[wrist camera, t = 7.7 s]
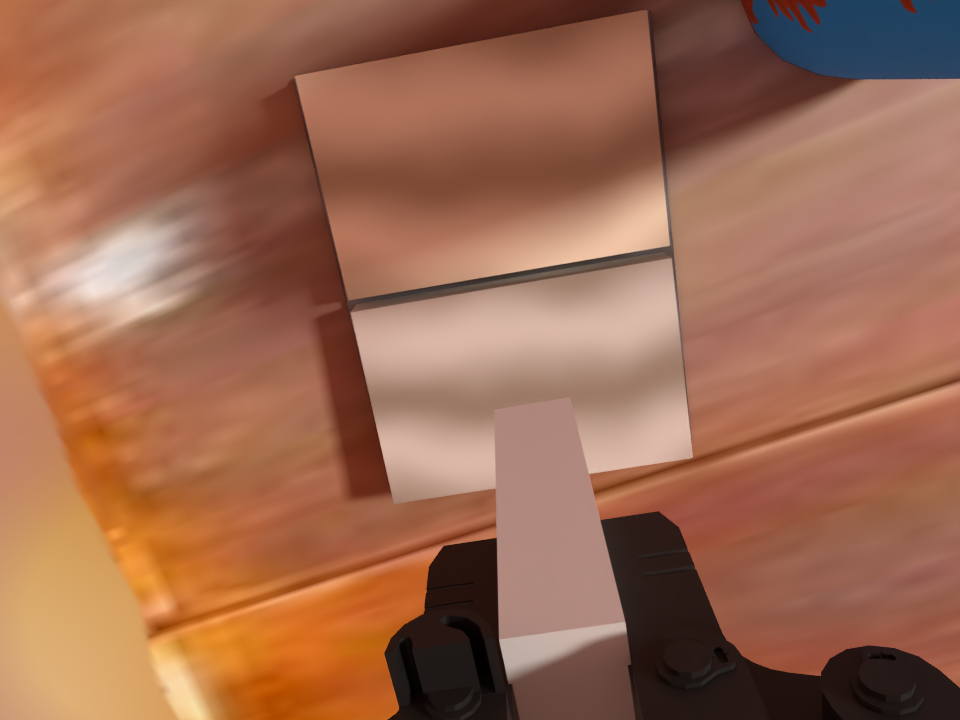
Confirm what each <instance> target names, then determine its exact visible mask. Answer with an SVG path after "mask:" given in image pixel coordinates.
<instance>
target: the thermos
mask: <svg viewBox="0 0 960 720" xmlns="http://www.w3.org/2000/svg"><path fill="white" fill-rule="evenodd" d="M741 2H742V5H743V7H744V9H745V11H746V14H747V16H748V18H749V21H750V23H751V25H752V28H753V30H754V32H755V33H756V34H757V35H758V36H759V37H760V38H761V39H762V40H763V41H764V42H765V43H766V44H767V45H768V46H769V47H770V48H771V49H772V50H773V51H774V52H775V53H776V54H777V55H778V56H779V57H780V58H781V59H782V60H784V61H786V62H789V63H791V64H794V65H796V66H799V67H801V68H804V69H806V70H809V71H811V72H814V73H816V74H818V75H825V76H833V77H841V78H849V79H960V0H741Z"/></svg>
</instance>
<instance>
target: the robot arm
mask: <svg viewBox="0 0 960 720" xmlns="http://www.w3.org/2000/svg"><path fill="white" fill-rule="evenodd" d="M494 423H495V471H496V518H497V538H493V539H487V540H480V541H473V542H467V543H460V544H453V545H447V546H443V548H442V549H441V550H440V552H439V553H438V555H437V556H436V558H435V559H434V560H433V562H432V563H431V565H430V566H429V572H428V581H427V593H426V598H425V611H424V614H423V615H421V616H419V617H417V618H415V619H414V620H412V621H410V622H408V623H407V624H405V625H404V626H403V627H402V628H401V629H400V630H399V631H398V632H397V633H396V634H395V635H394V636H393V637H392V638H391V639H390V642H389V644H388V646H387V649H386V651H385V653H384V654H385V657H386V661H387V665H388V668H389V672H390V675H391V679H392V683H393V686H394V690H395V693H396V697H397V701H398V704H399V711H398V712H397V713H396V714H395V715H393V716H392V717H391V718H389V719H388V720H960V688H959V687H958V686H957V685H956V684H955V683H953V682H952V681H951V680H950V679H949V678H948V677H947V676H946V675H944V674H943V673H942V672H941V671H940V670H938V669H937V668H935V667H934V666H932V665H931V664H929V663H928V662H926V661H925V660H923V659H922V658H920V657H918V656H916V655H913V654H910V653H907V652H904V651H901V650H898V649H895V648H889V647H878V646H863V647H857V648H851V649H846V650H844V651H843V652H841V653H839V654H837V655H836V656H834V657H832V658H830V659H829V661H828V663H827V664H826V666H825V667H824V669H823V670H822V672H821V676H814V675H805V674H796V673H788V672H783V671H778V670H772V669H769V668H766V667H763V666H761V665H758V664H755V663H753V662H751V661H750V660H748V659H746V658H745V657H743V656H742V655H741V654H740V652H739V651H738V650H737V648H736V647H735V646H734V645H733V644H731V643H730V642H728V641H727V640H726V639H725V637H724V635H723V634H722V631H721V629H720V627H719V624H718V622H717V619H716V617H715V614H714V612H713V609H712V607H711V605H710V602H709V600H708V597H707V595H706V592H705V590H704V588H703V585H702V583H701V580H700V578H699V575H698V573H697V570H695V566H694V563H693V561H692V558H691V556H690V553H689V552H688V549H687V546H686V544H685V541H684V539H683V536H682V534H681V532H680V529H679V527H678V526H676V525H675V524H674V523H673V522H671V521H670V520H669V519H667V518H666V517H665V516H664V515H662V514H661V513H660V512H659V511H658V512H652V513H645V514H638V515H632V516H625V517H618V518H612V519H605V520H600V517H599V513H598V509H597V505H596V501H595V497H594V493H593V489H592V485H591V481H590V476H589V472H588V468H587V464H586V460H585V456H584V452H583V448H582V444H581V440H580V436H579V432H578V428H577V424H576V420H575V416H574V411H573V407H572V403H571V399H570V397H569V398H563V399H557V400H551V401H545V402H538V403H532V404H526V405H520V406H514V407H508V408H501V409H495V410H494Z"/></svg>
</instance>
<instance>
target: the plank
mask: <svg viewBox="0 0 960 720" xmlns="http://www.w3.org/2000/svg"><path fill="white" fill-rule="evenodd" d="M351 317H352V321H353V325H354V330H355V334H356V339H357V343H358V348H359V352H360V356H361V361H362V365H363V370H364V374H365V378H366V383H367V387H368V392H369V396H370V400H371V405H372V409H373V414H374V418H375V422H376V427H377V431H378V436H379V440H380V445H381V449H382V453H383V458H384V462H385V467H386V471H387V475H388V480H389V484H390V489H391V493H392V497H393V502H394V504H396V503H403V502H409V501H416V500H422V499H429V498H435V497H442V496H448V495H455V494H461V493H468V492H474V491H481V490H487V489H494V488H496V471H495V423H494V410H495V409H501V408H508V407H514V406H520V405H526V404H532V403H538V402H545V401H551V400H557V399H563V398H569V397H570V399H571V403H572V407H573V411H574V416H575V420H576V424H577V428H578V432H579V436H580V440H581V444H582V448H583V452H584V456H585V460H586V464H587V468H588V472H589V474H591V473H598V472H604V471H611V470H617V469H624V468H630V467H637V466H643V465H650V464H656V463H663V462H669V461H676V460H682V459H689V458H693V454H692V445H691V435H690V426H689V416H688V407H687V398H686V388H685V379H684V369H683V360H682V351H681V341H680V332H679V322H678V313H677V304H676V294H675V285H674V276H673V266H672V258H671V257H669V256H668V255H667V254H665V253H664V252H660V253H654V254H649V255H643V256H637V257H631V258H625V259H619V260H613V261H607V262H601V263H596V264H590V265H584V266H578V267H572V268H566V269H560V270H554V271H549V272H543V273H537V274H531V275H525V276H519V277H513V278H507V279H502V280H496V281H490V282H484V283H478V284H472V285H466V286H460V287H455V288H449V289H443V290H437V291H431V292H425V293H419V294H413V295H407V296H402V297H396V298H390V299H384V300H378V301H372V302H366V303H360V304H357V305H356V306H355V307H354V309H353V310H352V311H351Z"/></svg>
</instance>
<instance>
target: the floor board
mask: <svg viewBox="0 0 960 720" xmlns="http://www.w3.org/2000/svg"><path fill="white" fill-rule="evenodd" d="M293 80H294V85H295V89H296V93H297V97H298V101H299V106H300V110H301V114H302V118H303V122H304V127H305V131H306V135H307V139H308V143H309V148H310V152H311V156H312V160H313V164H314V168H315V173H316V177H317V181H318V185H319V189H320V194H321V198H322V202H323V206H324V210H325V215H326V219H327V223H328V227H329V231H330V235H331V240H332V244H333V248H334V252H335V256H336V261H337V265H338V269H339V273H340V277H341V282H342V286H343V290H344V294H345V298H346V302H347V307H348V311H349V315H350V319H351V323H352V328H353V332H354V336H355V340H356V344H357V349H358V353H359V357H360V361H361V356H360V352H359V348H358V343H357V339H356V334H355V330H354V325H353V321H352V317H351V311H352V310H353V309H354V307H355V306H356V305H357V304H360V303H366V302H372V301H378V300H384V299H390V298H396V297H402V296H407V295H413V294H419V293H425V292H431V291H437V290H443V289H449V288H455V287H460V286H466V285H472V284H478V283H484V282H490V281H496V280H502V279H507V278H513V277H519V276H525V275H531V274H537V273H543V272H549V271H554V270H560V269H566V268H572V267H578V266H584V265H590V264H596V263H601V262H607V261H613V260H619V259H625V258H631V257H637V256H643V255H649V254H654V253H660V252H664V253H665V254H667V255H668V256H669V257H671V258H672V266H673V276H674V285H675V294H676V304H677V313H678V322H679V332H680V341H681V351H682V360H683V369H684V379H685V388H686V378H685V367H684V357H683V346H682V336H681V325H680V315H679V304H678V294H677V283H676V273H675V262H674V252H673V241H672V231H671V220H670V210H669V199H668V189H667V178H666V168H665V157H664V147H663V136H662V126H661V115H660V105H659V94H658V84H657V73H656V63H655V52H654V42H653V31H652V21H651V11H647V9H646V10H641V11H636V12H630V13H625V14H620V15H614V16H609V17H604V18H599V19H593V20H588V21H583V22H577V23H572V24H567V25H562V26H556V27H551V28H546V29H540V30H535V31H530V32H525V33H519V34H514V35H509V36H503V37H498V38H493V39H488V40H482V41H477V42H472V43H466V44H461V45H456V46H450V47H445V48H440V49H435V50H429V51H424V52H419V53H413V54H408V55H403V56H398V57H392V58H387V59H382V60H376V61H371V62H366V63H361V64H355V65H350V66H345V67H339V68H334V69H329V70H323V71H318V72H313V73H308V74H302V75H297V76H295V78H293ZM361 365H362V361H361ZM362 370H363V365H362ZM363 374H364V370H363ZM364 378H365V374H364ZM365 382H366V378H365ZM366 386H367V383H366ZM367 390H368V387H367ZM368 395H369V392H368ZM686 398H687V388H686ZM369 399H370V396H369ZM370 403H371V400H370ZM371 407H372V405H371ZM687 407H688V398H687ZM372 411H373V409H372ZM373 416H374V414H373ZM688 416H689V409H688ZM374 420H375V418H374ZM375 424H376V422H375ZM689 426H690V419H689ZM376 428H377V427H376ZM377 432H378V431H377ZM690 435H691V430H690ZM378 437H379V436H378ZM379 441H380V440H379ZM691 444H692V440H691Z"/></svg>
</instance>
